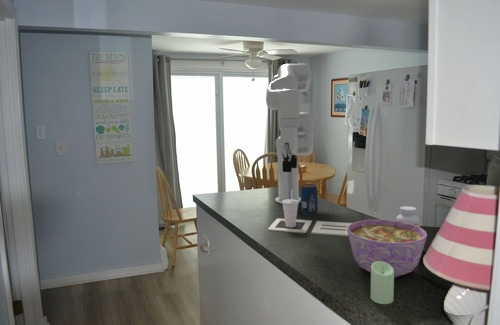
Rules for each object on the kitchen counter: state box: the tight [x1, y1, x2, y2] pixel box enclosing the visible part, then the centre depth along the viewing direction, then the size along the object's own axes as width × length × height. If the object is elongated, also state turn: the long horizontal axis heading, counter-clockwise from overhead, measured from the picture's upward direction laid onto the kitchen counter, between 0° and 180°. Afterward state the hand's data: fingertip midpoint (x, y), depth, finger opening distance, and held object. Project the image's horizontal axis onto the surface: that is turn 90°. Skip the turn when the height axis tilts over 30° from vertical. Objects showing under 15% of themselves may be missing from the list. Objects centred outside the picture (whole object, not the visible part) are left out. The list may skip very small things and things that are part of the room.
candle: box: [370, 261, 395, 305], centre depth 89 cm, size 5×5×8 cm
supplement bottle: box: [395, 205, 420, 227], centre depth 120 cm, size 7×7×13 cm
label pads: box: [267, 218, 353, 237], centre depth 144 cm, size 14×30×1 cm, turn 72°
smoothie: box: [282, 190, 299, 228], centre depth 145 cm, size 6×6×14 cm
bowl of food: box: [347, 219, 428, 279], centre depth 103 cm, size 20×20×12 cm
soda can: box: [300, 183, 319, 216], centre depth 162 cm, size 7×7×12 cm
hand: (289, 169), depth 143 cm, fingers open, 9 cm apart
